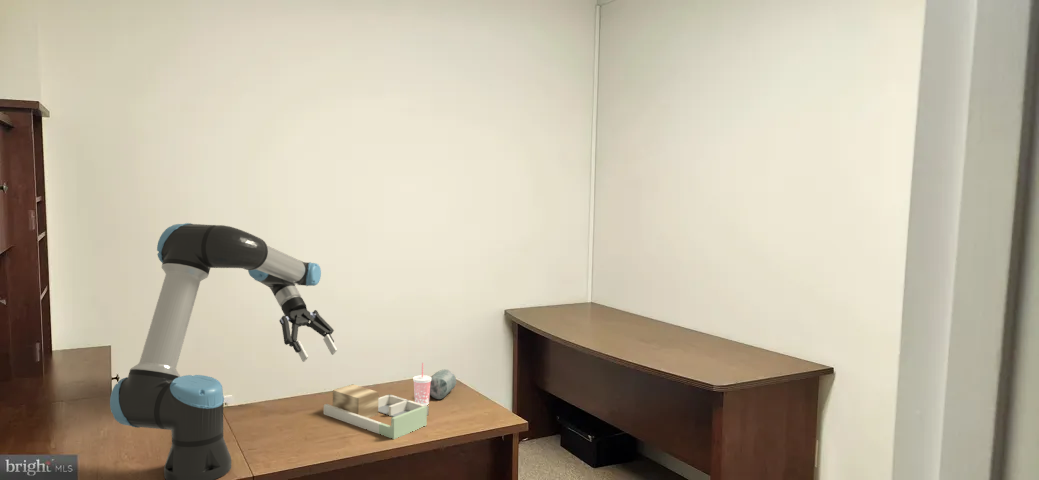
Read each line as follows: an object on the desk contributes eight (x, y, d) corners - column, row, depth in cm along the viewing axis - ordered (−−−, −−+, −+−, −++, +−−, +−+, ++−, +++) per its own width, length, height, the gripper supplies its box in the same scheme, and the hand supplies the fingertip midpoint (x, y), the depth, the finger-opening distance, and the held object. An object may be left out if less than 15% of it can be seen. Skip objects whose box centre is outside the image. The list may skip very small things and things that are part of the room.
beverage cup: (433, 406, 219) (434, 364, 218) (414, 408, 217) (415, 366, 216) (428, 400, 225) (429, 359, 224) (410, 402, 223) (411, 361, 222)
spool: (449, 394, 222) (440, 365, 225) (425, 404, 225) (416, 375, 227) (466, 392, 235) (457, 365, 238) (443, 401, 237) (434, 374, 240)
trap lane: (323, 414, 209) (323, 395, 209) (373, 397, 226) (373, 380, 225) (393, 439, 191) (394, 418, 191) (442, 419, 208) (442, 400, 207)
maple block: (332, 413, 211) (332, 390, 210) (352, 406, 217) (352, 384, 217) (358, 422, 204) (358, 398, 203) (378, 415, 211) (378, 391, 210)
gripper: (314, 304, 238) (343, 355, 231) (255, 314, 219) (284, 369, 212) (324, 291, 234) (353, 342, 227) (265, 300, 216) (295, 356, 208)
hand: (320, 355), depth 219 cm, fingers open, 11 cm apart
